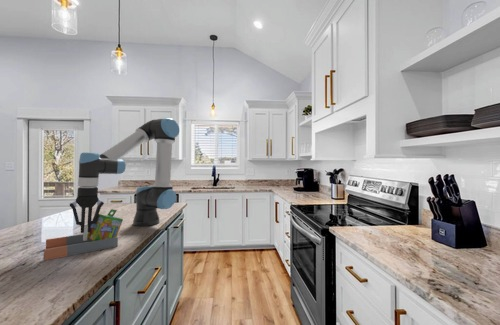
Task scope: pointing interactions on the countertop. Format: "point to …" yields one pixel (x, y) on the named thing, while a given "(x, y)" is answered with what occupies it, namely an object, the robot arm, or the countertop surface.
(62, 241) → the channel
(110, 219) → the chalk box
